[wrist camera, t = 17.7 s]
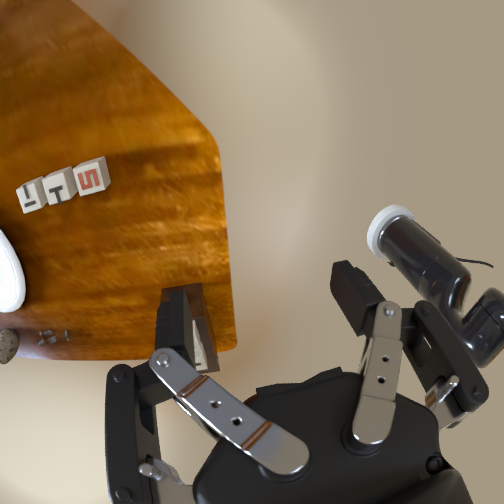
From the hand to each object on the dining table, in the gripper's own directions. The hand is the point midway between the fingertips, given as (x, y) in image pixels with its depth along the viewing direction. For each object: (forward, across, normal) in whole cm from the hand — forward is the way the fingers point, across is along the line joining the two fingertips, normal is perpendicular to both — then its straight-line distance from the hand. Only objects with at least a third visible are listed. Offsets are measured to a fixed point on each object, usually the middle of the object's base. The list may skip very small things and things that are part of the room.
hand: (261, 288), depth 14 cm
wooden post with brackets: (+26, +41, +28) cm, 56 cm away
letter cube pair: (+26, +26, -2) cm, 37 cm away
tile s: (+26, +17, -2) cm, 31 cm away
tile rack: (+26, +9, +28) cm, 39 cm away
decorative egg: (+26, +56, +27) cm, 67 cm away
